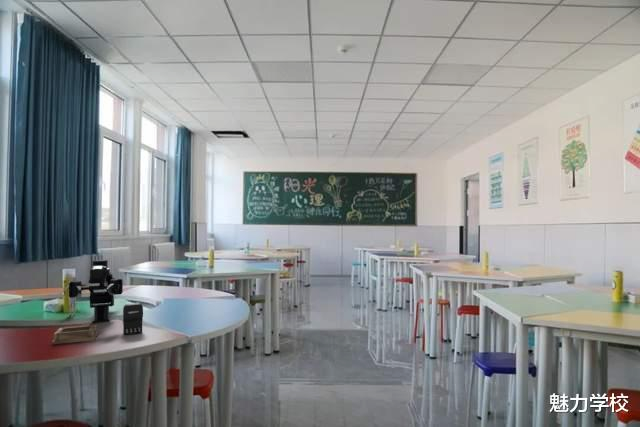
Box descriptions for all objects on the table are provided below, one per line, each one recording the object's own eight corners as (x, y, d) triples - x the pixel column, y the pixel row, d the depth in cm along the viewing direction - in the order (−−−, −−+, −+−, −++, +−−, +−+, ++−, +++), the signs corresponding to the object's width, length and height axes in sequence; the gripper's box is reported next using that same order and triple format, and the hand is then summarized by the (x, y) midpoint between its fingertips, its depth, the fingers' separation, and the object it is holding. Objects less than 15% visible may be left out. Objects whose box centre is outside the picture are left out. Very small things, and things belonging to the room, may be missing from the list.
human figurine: (86, 312, 192) (87, 275, 192) (87, 314, 188) (88, 275, 189) (56, 316, 185) (57, 277, 185) (57, 317, 181) (57, 278, 182)
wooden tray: (58, 337, 149) (58, 327, 149) (98, 333, 154) (98, 324, 154) (51, 344, 139) (51, 334, 139) (94, 340, 144) (94, 330, 144)
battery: (123, 336, 149) (123, 305, 150) (122, 334, 153) (122, 303, 153) (143, 333, 153) (143, 303, 153) (142, 331, 156) (142, 301, 157)
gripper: (73, 267, 163) (65, 270, 149) (123, 265, 171) (120, 268, 156) (72, 294, 163) (64, 301, 149) (123, 291, 170) (120, 297, 156)
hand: (93, 290), depth 152 cm, fingers open, 9 cm apart
